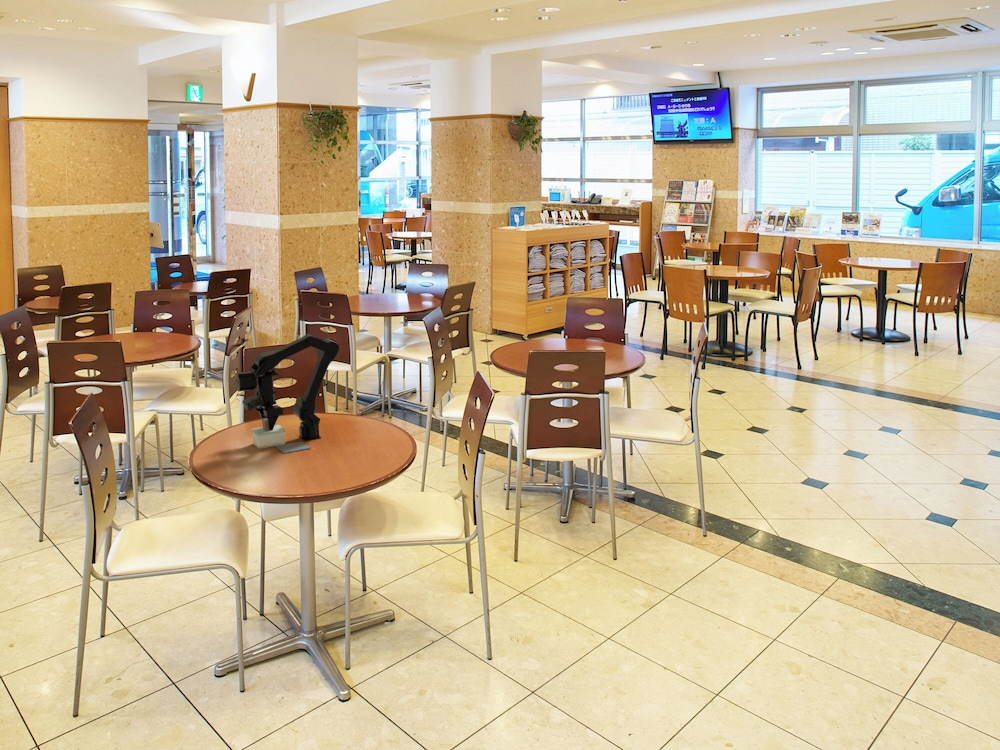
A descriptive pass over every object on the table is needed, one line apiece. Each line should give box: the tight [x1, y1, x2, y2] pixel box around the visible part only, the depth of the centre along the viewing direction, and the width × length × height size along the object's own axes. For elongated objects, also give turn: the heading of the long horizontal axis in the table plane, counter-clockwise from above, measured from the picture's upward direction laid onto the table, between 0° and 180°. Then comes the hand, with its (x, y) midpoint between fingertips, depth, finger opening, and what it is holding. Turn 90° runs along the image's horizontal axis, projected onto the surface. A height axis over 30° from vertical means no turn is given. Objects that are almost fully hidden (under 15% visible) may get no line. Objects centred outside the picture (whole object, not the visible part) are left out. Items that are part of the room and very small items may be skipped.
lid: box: [250, 418, 286, 436], centre depth 325 cm, size 10×7×6 cm
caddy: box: [251, 431, 286, 450], centre depth 326 cm, size 10×7×5 cm
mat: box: [275, 441, 311, 455], centre depth 322 cm, size 10×8×1 cm
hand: (268, 428), depth 325 cm, fingers open, 6 cm apart
